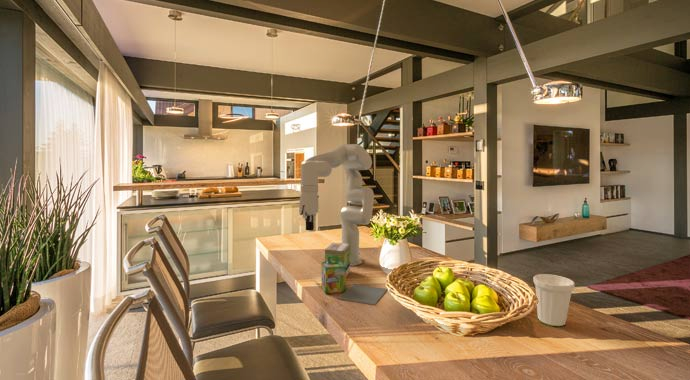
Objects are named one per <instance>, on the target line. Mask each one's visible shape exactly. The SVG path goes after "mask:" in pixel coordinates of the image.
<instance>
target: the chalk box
mask: <svg viewBox="0 0 690 380" xmlns="http://www.w3.org/2000/svg"><path fill="white" fill-rule="evenodd" d="M331 259H335V261H331ZM346 280H347V276H346V267H345V265H344V264H343V263H341V261H338V256H329V257H328V262H325V261H322V262H321V289H322V290H323V292H324V293H325V295H326V294H327V295H328V294H337V293H338V294H339V293H344V292H345V291H346V284H347V283H346Z"/></svg>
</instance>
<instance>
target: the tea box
mask: <svg viewBox="0 0 690 380" xmlns="http://www.w3.org/2000/svg"><path fill="white" fill-rule="evenodd" d="M329 256H338V261H341V263H343V264H344V265H345V267H346V277H347V276H348V274H349V273H350V272H351V271H350V270H351V266H350V244H342V242H331V243H330V245H328V246H327V247H326V248H325V249H324V262H328V257H329ZM331 261H335V259H331Z"/></svg>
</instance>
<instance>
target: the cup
mask: <svg viewBox="0 0 690 380" xmlns="http://www.w3.org/2000/svg"><path fill="white" fill-rule="evenodd" d="M532 279H533V280H532V281H533V283H534V286H535V297H536V296H537V298H538V301H539V302H538V304H537V303H536V312H537V320H538V319H539V320H540V321H541V322H543V323H545V324H548V325H552V326H563V325H566V322H567V318H568V317H567V316H568V311H569V307H570V301H571V297H572V293H573V292H572V291H573V290H574V289H575V284H576V283H575V282H574V281H573V279H570V278H567V277H564V276H561V275H556V274H550V273H549V274H547V273H539V274H535V275H534V276H533V277H532ZM539 320H538V321H539ZM540 321H539V322H540ZM541 322H540V323H541ZM543 323H542V324H543ZM545 324H544V325H545ZM548 325H547V326H548ZM552 326H551V327H552ZM563 327H564V326H563Z"/></svg>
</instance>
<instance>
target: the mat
mask: <svg viewBox="0 0 690 380" xmlns="http://www.w3.org/2000/svg"><path fill="white" fill-rule="evenodd" d="M387 291H388V288H387V287H385V288H384V287H378V286H370V285H365V284H364V285H363V284H358V283H353V284H352V285H350V286H349V287H348V288H347V289H345V292H342V294H340V295H339V296H338V297H337V299H338V300H341V301H348V302H353V303H360V304H366V305H372V306H376V305H377V303H378V302H379V301H380V300H381V299H382V297H383V296H384V294H385V293H386V292H387Z"/></svg>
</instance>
